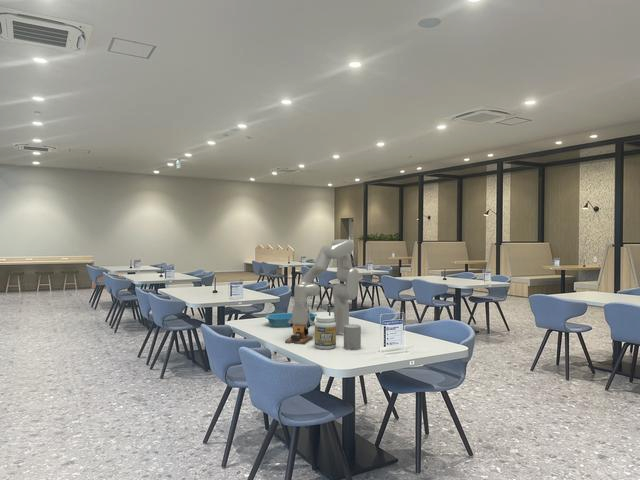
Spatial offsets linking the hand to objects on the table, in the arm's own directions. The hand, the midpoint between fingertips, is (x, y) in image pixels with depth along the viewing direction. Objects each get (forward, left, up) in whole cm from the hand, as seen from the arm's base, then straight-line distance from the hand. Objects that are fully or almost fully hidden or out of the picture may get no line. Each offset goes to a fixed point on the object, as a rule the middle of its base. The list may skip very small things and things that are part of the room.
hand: (300, 334), depth 284 cm
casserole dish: (+22, -45, -4) cm, 50 cm away
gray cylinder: (-34, +12, -3) cm, 36 cm away
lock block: (0, 0, -1) cm, 1 cm away
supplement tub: (-19, +14, -3) cm, 24 cm away
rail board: (0, +3, -3) cm, 4 cm away
